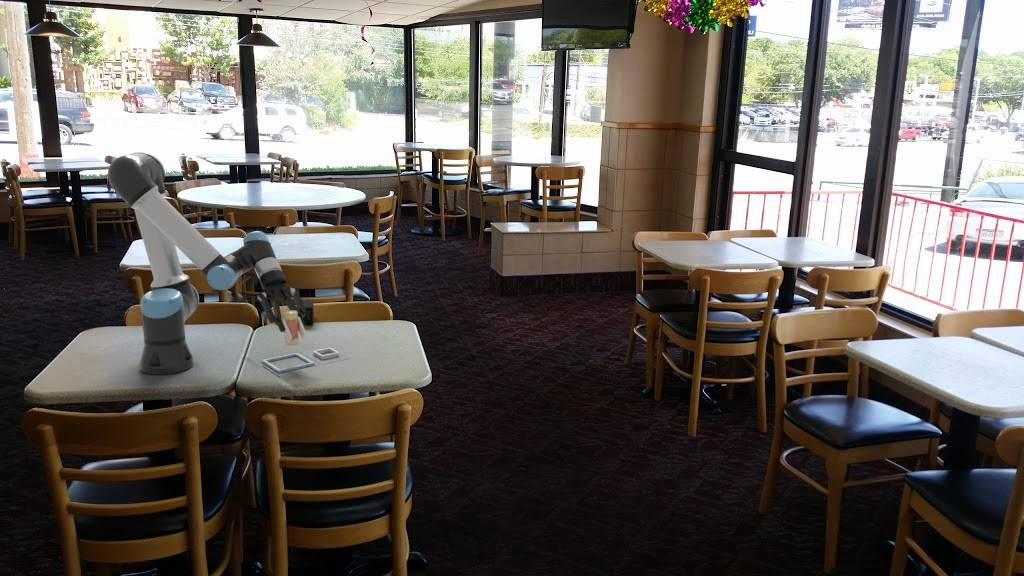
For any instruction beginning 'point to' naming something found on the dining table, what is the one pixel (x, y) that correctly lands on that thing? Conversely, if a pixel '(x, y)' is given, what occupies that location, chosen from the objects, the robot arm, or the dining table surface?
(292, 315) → the fuse
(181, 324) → the robot arm
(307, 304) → the digital camera
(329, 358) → the white rectangular frame
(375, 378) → the dining table surface
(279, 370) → the tray
